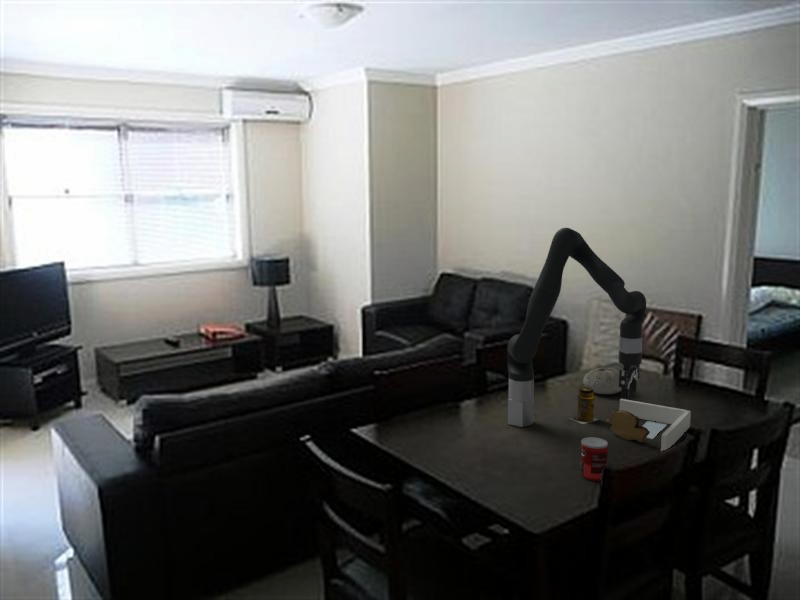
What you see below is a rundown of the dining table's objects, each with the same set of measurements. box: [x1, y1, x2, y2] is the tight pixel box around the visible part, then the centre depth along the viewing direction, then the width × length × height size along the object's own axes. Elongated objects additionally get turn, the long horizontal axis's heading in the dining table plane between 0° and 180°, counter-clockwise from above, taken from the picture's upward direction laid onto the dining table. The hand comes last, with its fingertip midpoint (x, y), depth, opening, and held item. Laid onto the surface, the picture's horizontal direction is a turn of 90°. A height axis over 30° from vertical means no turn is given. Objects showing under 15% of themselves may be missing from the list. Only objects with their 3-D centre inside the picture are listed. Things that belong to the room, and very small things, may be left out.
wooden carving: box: [605, 409, 650, 443], centre depth 240 cm, size 16×5×10 cm, turn 39°
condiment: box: [568, 386, 599, 425], centre depth 259 cm, size 7×8×12 cm
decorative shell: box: [582, 367, 625, 395], centre depth 293 cm, size 18×18×10 cm
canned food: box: [580, 436, 609, 482], centre depth 210 cm, size 8×8×11 cm
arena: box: [618, 398, 692, 452], centre depth 246 cm, size 30×26×6 cm
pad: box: [642, 420, 668, 440], centre depth 248 cm, size 17×7×1 cm, turn 143°
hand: (628, 395), depth 238 cm, fingers open, 8 cm apart
